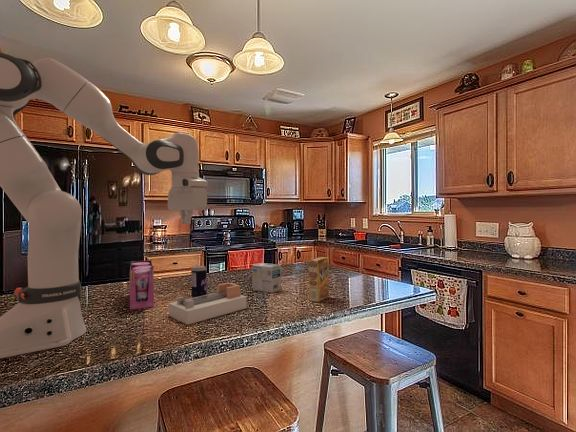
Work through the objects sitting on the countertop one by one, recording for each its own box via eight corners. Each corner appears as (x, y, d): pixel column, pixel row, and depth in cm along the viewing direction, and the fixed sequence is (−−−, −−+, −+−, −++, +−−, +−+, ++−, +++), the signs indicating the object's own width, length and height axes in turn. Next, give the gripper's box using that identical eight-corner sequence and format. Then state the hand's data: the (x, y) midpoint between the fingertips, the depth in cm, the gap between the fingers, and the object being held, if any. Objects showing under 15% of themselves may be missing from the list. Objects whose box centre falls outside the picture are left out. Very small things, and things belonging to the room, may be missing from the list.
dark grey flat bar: (186, 306, 100) (186, 303, 100) (180, 304, 103) (180, 300, 103) (231, 295, 112) (230, 292, 112) (224, 293, 115) (224, 290, 115)
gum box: (154, 308, 113) (154, 269, 113) (129, 311, 110) (128, 271, 109) (152, 292, 135) (151, 259, 135) (131, 294, 132) (130, 261, 131)
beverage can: (202, 300, 123) (202, 268, 122) (188, 299, 124) (188, 267, 123) (209, 296, 128) (208, 265, 128) (195, 295, 129) (195, 265, 129)
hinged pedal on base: (187, 324, 96) (187, 299, 96) (168, 315, 105) (168, 292, 104) (246, 308, 112) (246, 286, 112) (226, 301, 120) (225, 281, 120)
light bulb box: (281, 289, 137) (281, 264, 137) (272, 293, 132) (272, 266, 132) (261, 286, 143) (261, 262, 143) (251, 290, 138) (251, 264, 137)
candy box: (318, 302, 118) (318, 260, 118) (308, 300, 120) (308, 259, 120) (329, 297, 125) (329, 257, 125) (319, 295, 128) (319, 256, 127)
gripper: (162, 184, 114) (163, 223, 115) (192, 180, 100) (193, 225, 100) (179, 185, 119) (180, 223, 119) (210, 181, 105) (210, 224, 105)
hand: (186, 224), depth 110 cm, fingers closed
